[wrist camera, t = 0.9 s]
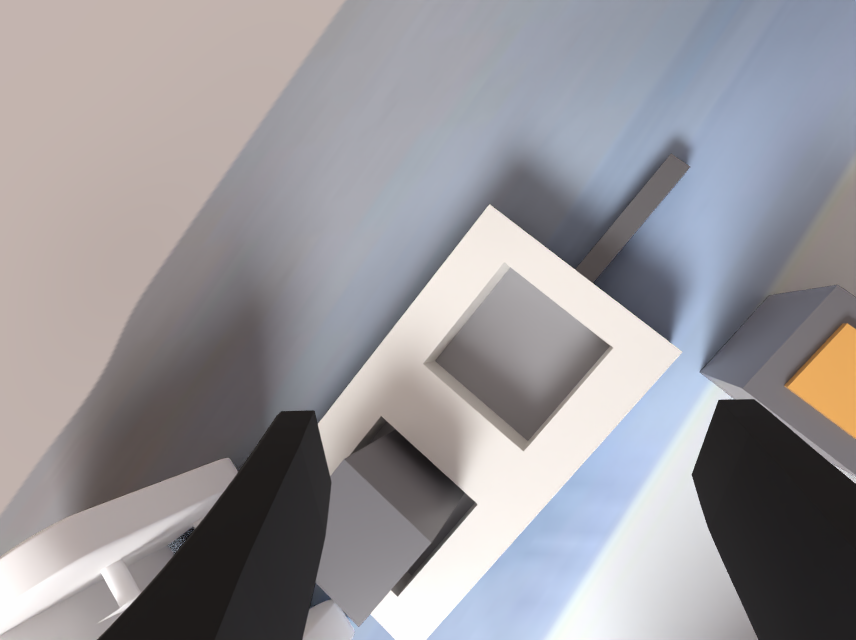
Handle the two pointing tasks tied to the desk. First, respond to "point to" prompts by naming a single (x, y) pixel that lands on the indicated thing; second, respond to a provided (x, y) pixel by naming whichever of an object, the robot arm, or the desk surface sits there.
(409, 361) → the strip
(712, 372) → the plug
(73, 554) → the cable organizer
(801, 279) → the desk surface
